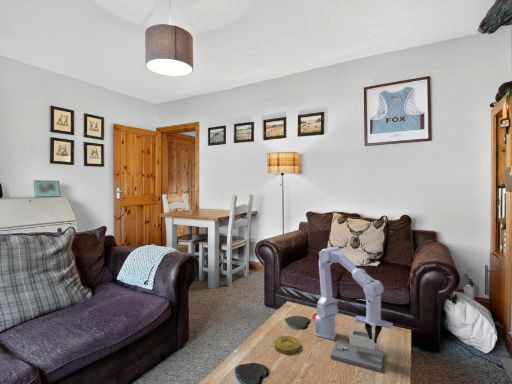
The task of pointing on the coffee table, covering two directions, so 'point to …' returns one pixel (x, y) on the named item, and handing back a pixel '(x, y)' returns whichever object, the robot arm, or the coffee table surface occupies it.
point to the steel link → (361, 339)
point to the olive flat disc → (287, 344)
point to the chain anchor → (341, 347)
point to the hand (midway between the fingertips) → (373, 341)
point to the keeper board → (359, 356)
